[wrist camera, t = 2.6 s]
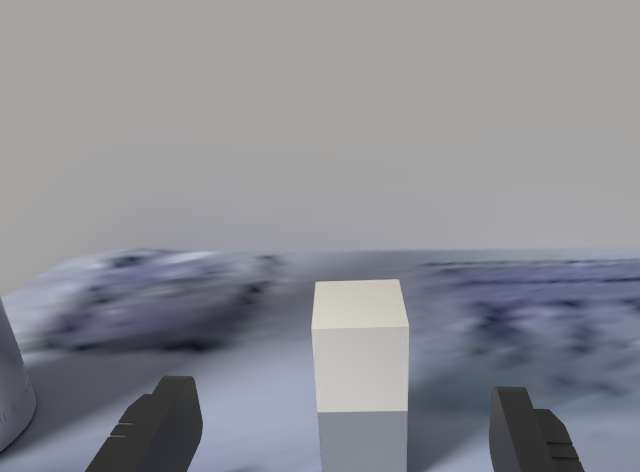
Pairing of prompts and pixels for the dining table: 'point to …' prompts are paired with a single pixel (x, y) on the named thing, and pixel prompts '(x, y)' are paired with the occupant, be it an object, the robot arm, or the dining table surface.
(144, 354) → the dining table surface
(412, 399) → the dining table surface
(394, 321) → the block
